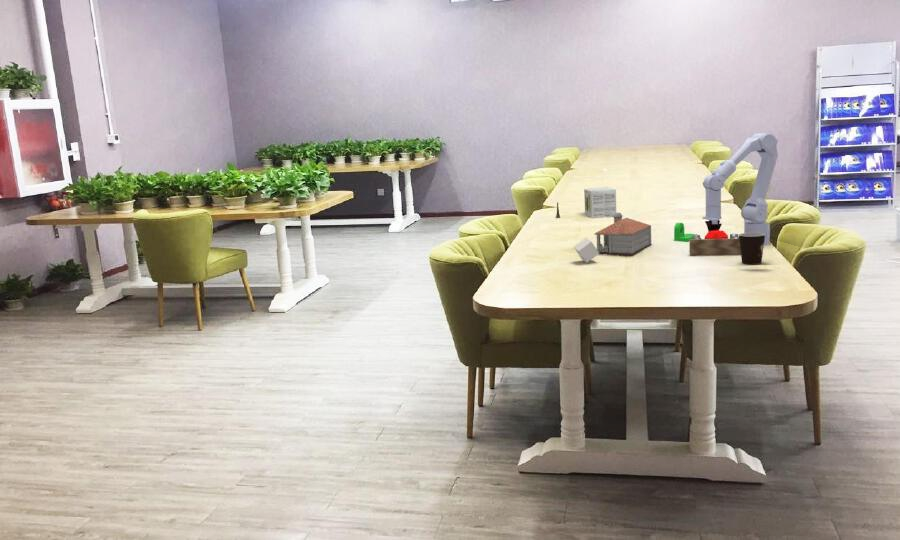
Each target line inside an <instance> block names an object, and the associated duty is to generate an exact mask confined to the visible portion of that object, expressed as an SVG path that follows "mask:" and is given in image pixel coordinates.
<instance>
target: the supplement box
mask: <svg viewBox="0 0 900 540" xmlns="http://www.w3.org/2000/svg"><path fill="white" fill-rule="evenodd" d="M583 190H584V191H583V194H584V215H585V216H586V217H588V218H591V219H600V218H601V219H602V218H604V217H606V218H613V216H614V214H615V213H617V189H616V188H613V187H608V186H607V187H594V188H584V189H583ZM604 219H605V218H604Z"/></svg>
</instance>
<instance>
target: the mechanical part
mask: <svg viewBox="0 0 900 540" xmlns="http://www.w3.org/2000/svg"><path fill="white" fill-rule="evenodd" d="M673 230H674V231H673V232H674V233H673V234H674V235H673V237H674V238H673V240H674V242H682V243H690V239H692V235H698V233H685V225H684V223H683V222H676V223H675V224H674V228H673Z"/></svg>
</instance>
